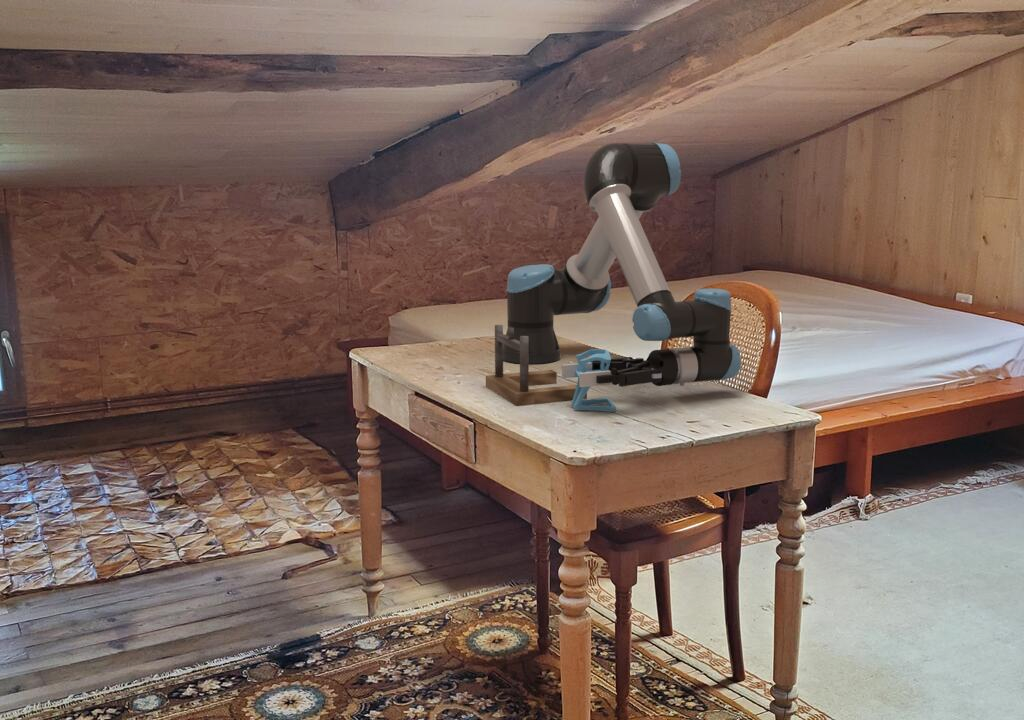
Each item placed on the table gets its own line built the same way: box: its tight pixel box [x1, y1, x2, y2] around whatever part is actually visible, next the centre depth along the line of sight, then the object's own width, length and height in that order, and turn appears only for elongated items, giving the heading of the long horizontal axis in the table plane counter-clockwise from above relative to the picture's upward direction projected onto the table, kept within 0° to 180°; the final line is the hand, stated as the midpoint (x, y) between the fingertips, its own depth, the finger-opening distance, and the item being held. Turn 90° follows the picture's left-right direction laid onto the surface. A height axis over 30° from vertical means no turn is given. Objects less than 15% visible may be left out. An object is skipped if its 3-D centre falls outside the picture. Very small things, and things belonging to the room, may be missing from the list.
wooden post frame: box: [485, 324, 588, 407], centre depth 215 cm, size 16×19×15 cm
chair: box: [571, 348, 617, 413], centre depth 201 cm, size 8×8×12 cm
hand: (571, 375), depth 199 cm, fingers closed on chair, 8 cm apart
